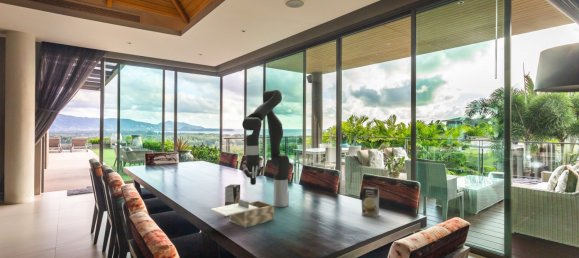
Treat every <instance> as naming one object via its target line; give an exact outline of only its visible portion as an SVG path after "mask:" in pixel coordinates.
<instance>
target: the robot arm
mask: <svg viewBox="0 0 579 258" xmlns="http://www.w3.org/2000/svg"><path fill="white" fill-rule="evenodd" d="M262 94H263V95H262V101H263V103H262V104H260V105H259V106H257V107H256V108H255V109H254V110H253V112H252V113H250V114H248V115H247V116H246V117H244V118H243V120H242V129H244V130H245V131H252V133H251V134H247V135H246V137H245V163H246V165H245V168H243V169H242V172H243V173H244V175H245V176H246V178H250V179H249V180H250V182H249V183H250V185H252V186H256V183H257V177H259V176H260V174H261V173H262V171H263V169H264V167H263V166H261V165H260V160H261V159H260V145H259V144H260V143H259V142H260V133H261V129H262V127H263V126H262V124H263V123H262V122H263V120H264V119H265V118H266V121H267V129H268V136H269V142H270V143H269V145H270V146H269V147H270V161H271V166H272V167H273V168H275V169H278V172H277V173H275V174H274V175H273V200H272V201H273V204H272V205H274V208H285V207H287V206H289V203H290V198H289V197H290V194H289V193H290V191H289V189H288V187H289V185H288V184H289V174H290V158H289V156H288V155H286V154H281V150H280V147H281V142H282V140H283V135H284V128H283V123H282V121H281V120H280V118H279V117H278V116H277V115H276V113H275V111H274V108H275V107H277V106H278V105H279V104H281V102H282V101H283V100H282V99H283V95H282V92H281V91H280V90H279V89H270V90H269V89H268V90H264V92H263V93H262Z"/></svg>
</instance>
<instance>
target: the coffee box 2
mask: <svg viewBox="0 0 579 258" xmlns="http://www.w3.org/2000/svg"><path fill="white" fill-rule="evenodd" d="M361 191H362V193H361V194H362V195H361V197H362V198H361V199H362V200H361V216H366V217H373V218H378V217H379V213H380V211H379V210H380V187H377V186H368V185H367V186H365V185H364V186H362V188H361Z"/></svg>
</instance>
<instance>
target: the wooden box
mask: <svg viewBox="0 0 579 258" xmlns="http://www.w3.org/2000/svg"><path fill="white" fill-rule="evenodd" d="M249 205H252V206H255V207H258V209H255V210H251V211H246V212H242V213H238V214H233V215H229V222H231V223H233V224H236V225H238V226H240V227H243V228H248V227H252V226H253V227H254V226H255V225H260V224H264V223H267V222H271V221H274V220H275V216H274V215H275V206H274V205H273V204H271V203H269V202H264V201H260V200H255V201H249Z"/></svg>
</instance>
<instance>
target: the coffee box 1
mask: <svg viewBox="0 0 579 258" xmlns="http://www.w3.org/2000/svg"><path fill="white" fill-rule="evenodd" d="M239 199H241V184H229V185H227V186H225V187H224V206H227V205H232V204H237V203H238V200H239Z"/></svg>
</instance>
